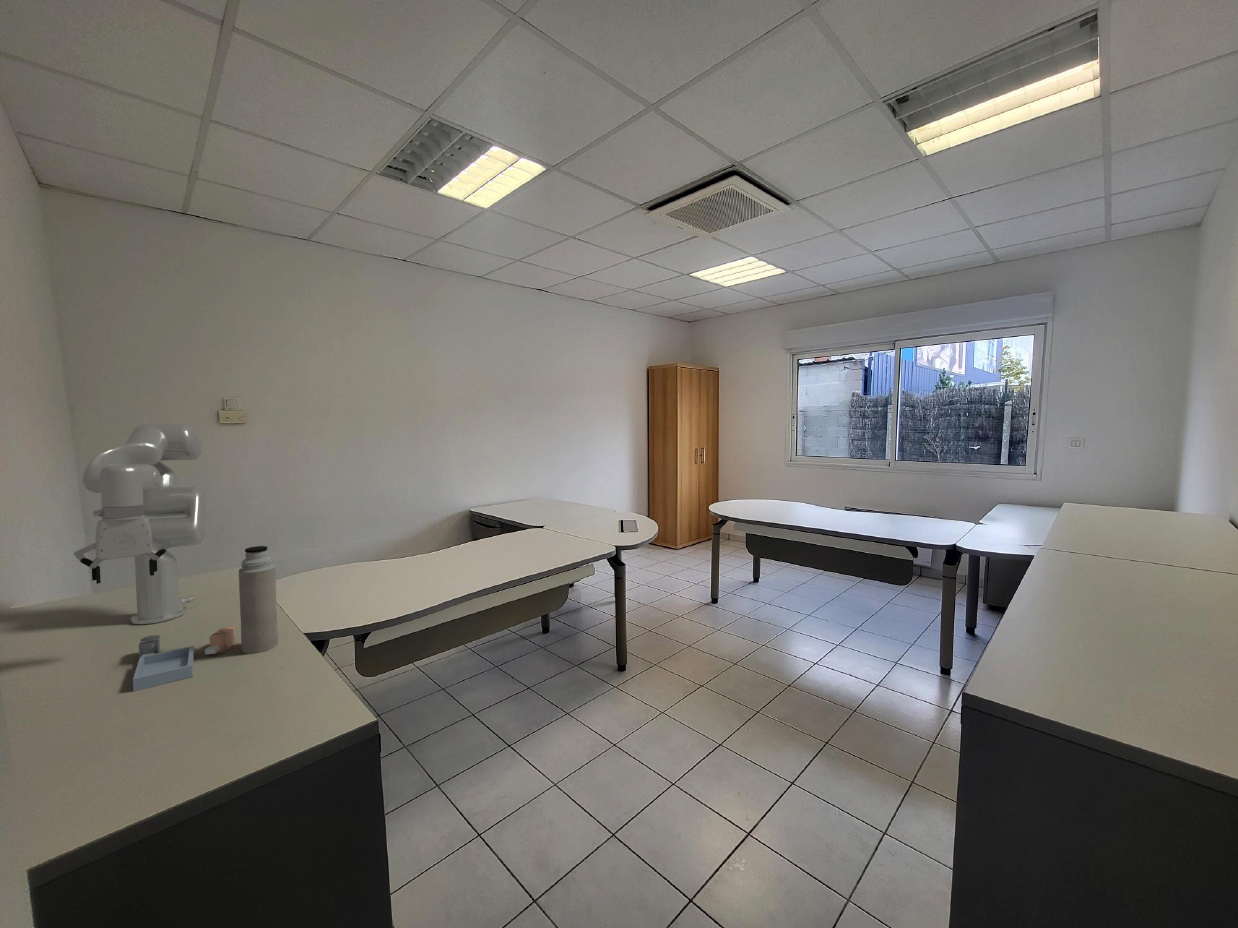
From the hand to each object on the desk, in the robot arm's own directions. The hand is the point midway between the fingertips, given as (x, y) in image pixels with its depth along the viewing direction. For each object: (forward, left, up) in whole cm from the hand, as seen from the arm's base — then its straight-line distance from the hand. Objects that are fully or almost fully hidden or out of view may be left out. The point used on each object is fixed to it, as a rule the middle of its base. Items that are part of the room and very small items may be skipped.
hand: (125, 578), depth 123 cm
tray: (+5, +18, -21) cm, 28 cm away
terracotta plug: (-8, +19, -21) cm, 29 cm away
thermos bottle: (-11, +28, -21) cm, 37 cm away
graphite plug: (0, +6, -21) cm, 22 cm away
